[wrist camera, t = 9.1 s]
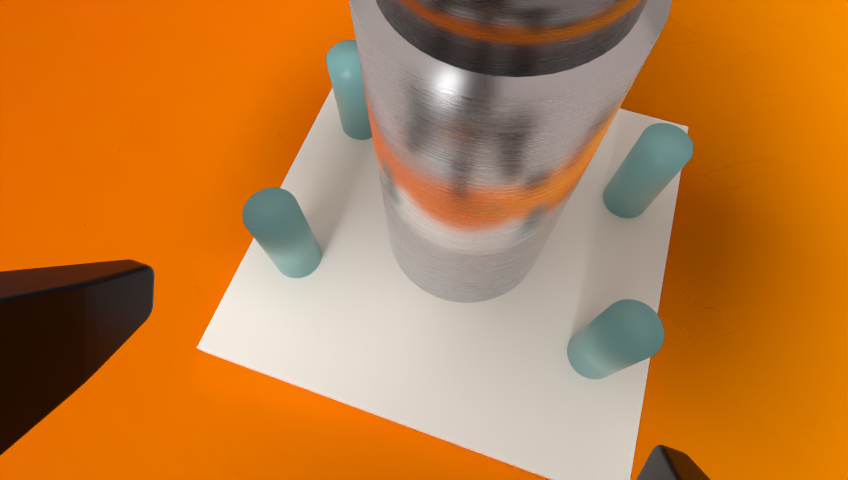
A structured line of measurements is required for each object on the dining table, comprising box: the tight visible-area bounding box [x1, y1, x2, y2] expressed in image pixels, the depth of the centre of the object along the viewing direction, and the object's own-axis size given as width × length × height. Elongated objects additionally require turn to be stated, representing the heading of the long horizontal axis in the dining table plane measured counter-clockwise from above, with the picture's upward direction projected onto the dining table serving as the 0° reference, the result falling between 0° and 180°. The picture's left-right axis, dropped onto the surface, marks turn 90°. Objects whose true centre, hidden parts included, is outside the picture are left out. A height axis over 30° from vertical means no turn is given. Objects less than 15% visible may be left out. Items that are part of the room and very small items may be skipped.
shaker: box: [349, 0, 672, 303], centre depth 13 cm, size 5×5×12 cm
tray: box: [197, 40, 694, 480], centre depth 17 cm, size 14×14×4 cm
